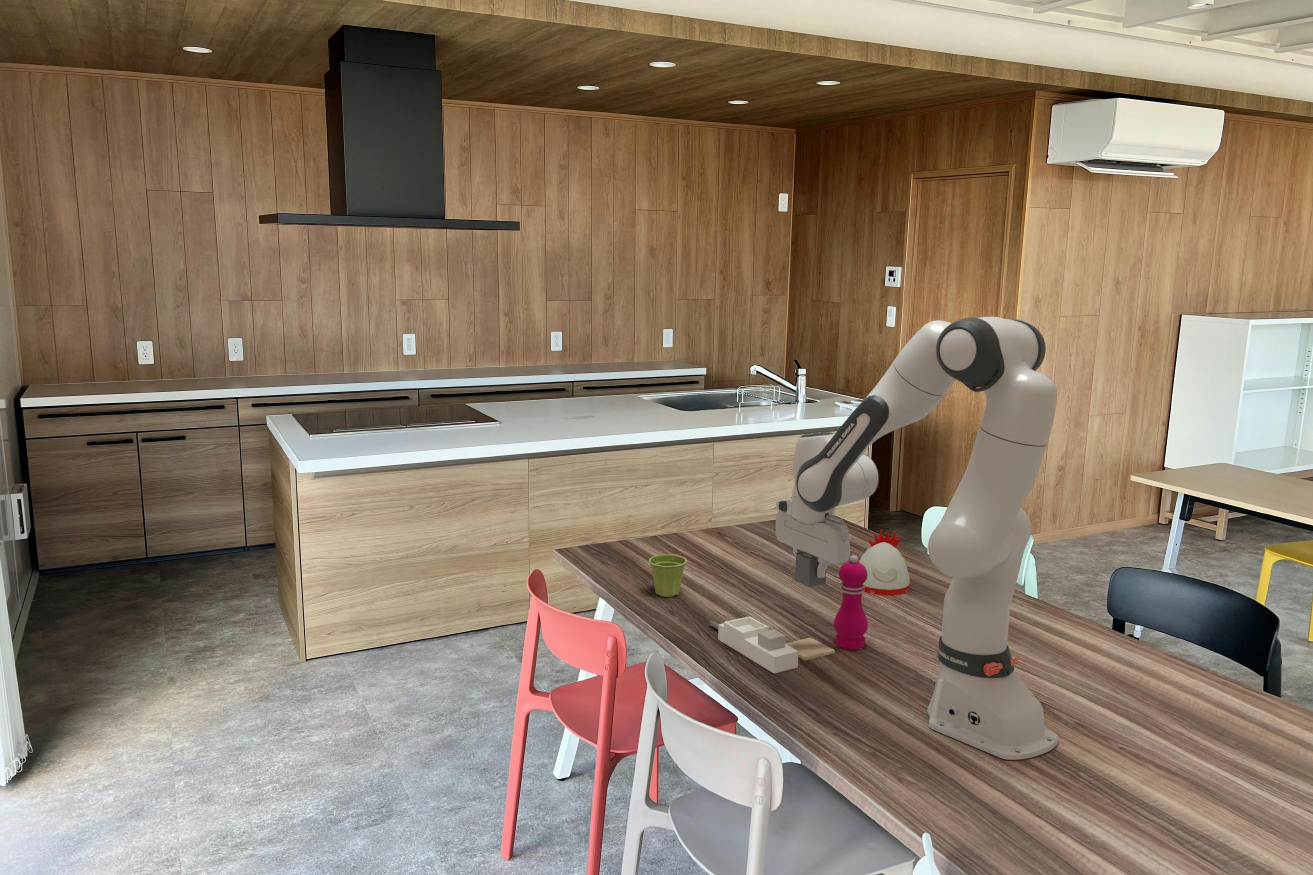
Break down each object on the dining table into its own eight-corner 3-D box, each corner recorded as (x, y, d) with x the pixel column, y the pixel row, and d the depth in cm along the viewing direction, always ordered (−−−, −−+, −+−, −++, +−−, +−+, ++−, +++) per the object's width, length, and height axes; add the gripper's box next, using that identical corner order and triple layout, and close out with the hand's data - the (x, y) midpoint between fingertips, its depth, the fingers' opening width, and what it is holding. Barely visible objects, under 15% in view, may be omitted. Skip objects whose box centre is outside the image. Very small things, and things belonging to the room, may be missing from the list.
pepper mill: (867, 652, 194) (871, 561, 191) (832, 649, 196) (836, 559, 192) (866, 639, 201) (871, 551, 198) (833, 636, 203) (836, 549, 199)
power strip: (799, 666, 187) (800, 639, 186) (772, 674, 183) (773, 645, 182) (723, 622, 210) (723, 597, 209) (697, 628, 207) (698, 603, 206)
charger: (825, 583, 192) (826, 555, 191) (808, 587, 190) (809, 558, 189) (811, 577, 196) (812, 549, 195) (794, 580, 194) (796, 552, 193)
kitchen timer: (912, 597, 228) (915, 539, 226) (855, 593, 231) (858, 536, 228) (906, 579, 242) (909, 524, 239) (852, 576, 244) (855, 521, 242)
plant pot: (686, 600, 225) (687, 566, 224) (648, 599, 225) (648, 565, 224) (686, 587, 234) (686, 554, 233) (649, 586, 235) (649, 554, 233)
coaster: (834, 652, 194) (834, 650, 194) (805, 660, 190) (805, 657, 190) (810, 639, 201) (810, 637, 201) (781, 647, 197) (781, 644, 197)
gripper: (859, 518, 183) (855, 584, 185) (794, 496, 200) (792, 557, 203) (834, 522, 180) (831, 589, 182) (771, 499, 197) (769, 561, 200)
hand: (810, 572), depth 193 cm, fingers closed on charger, 4 cm apart
